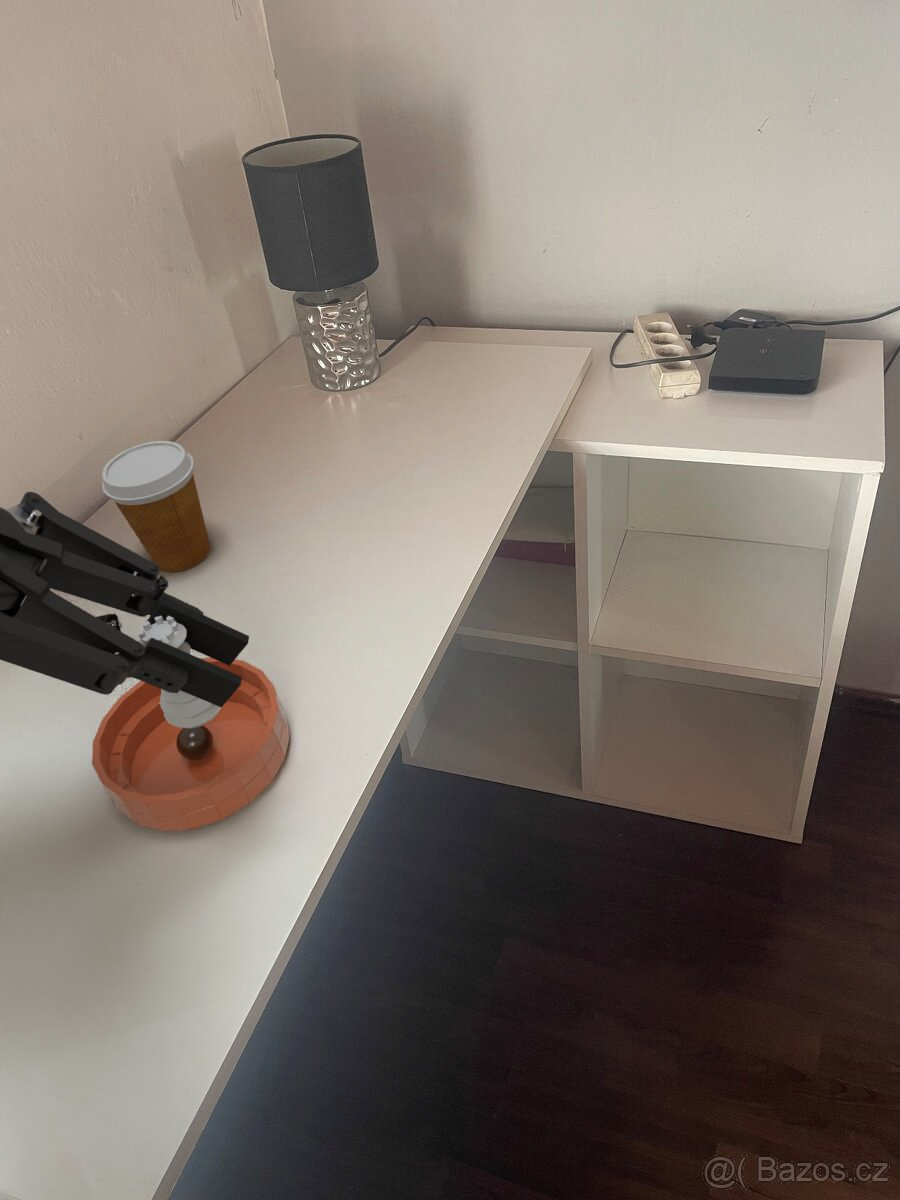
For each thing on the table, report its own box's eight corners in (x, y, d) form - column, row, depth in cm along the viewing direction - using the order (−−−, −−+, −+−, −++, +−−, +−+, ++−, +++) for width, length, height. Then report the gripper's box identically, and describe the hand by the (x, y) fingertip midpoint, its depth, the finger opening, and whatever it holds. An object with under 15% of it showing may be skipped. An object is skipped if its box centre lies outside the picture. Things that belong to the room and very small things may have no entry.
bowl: (235, 853, 66) (217, 819, 63) (77, 813, 71) (53, 780, 68) (320, 706, 76) (307, 670, 73) (176, 680, 81) (159, 646, 78)
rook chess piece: (239, 703, 62) (203, 622, 57) (188, 742, 60) (146, 662, 55) (204, 676, 65) (167, 597, 60) (154, 713, 63) (111, 634, 58)
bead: (206, 770, 72) (194, 747, 70) (176, 764, 73) (164, 741, 71) (224, 742, 74) (213, 719, 72) (195, 736, 75) (183, 714, 73)
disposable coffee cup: (141, 541, 100) (99, 452, 92) (222, 520, 101) (188, 430, 93) (139, 591, 93) (94, 499, 85) (227, 567, 94) (190, 474, 86)
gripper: (-88, 478, 58) (226, 624, 68) (-216, 647, 46) (190, 795, 56) (-52, 396, 55) (274, 563, 65) (-182, 556, 42) (247, 732, 52)
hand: (235, 670), depth 60 cm, fingers closed on rook chess piece, 3 cm apart
